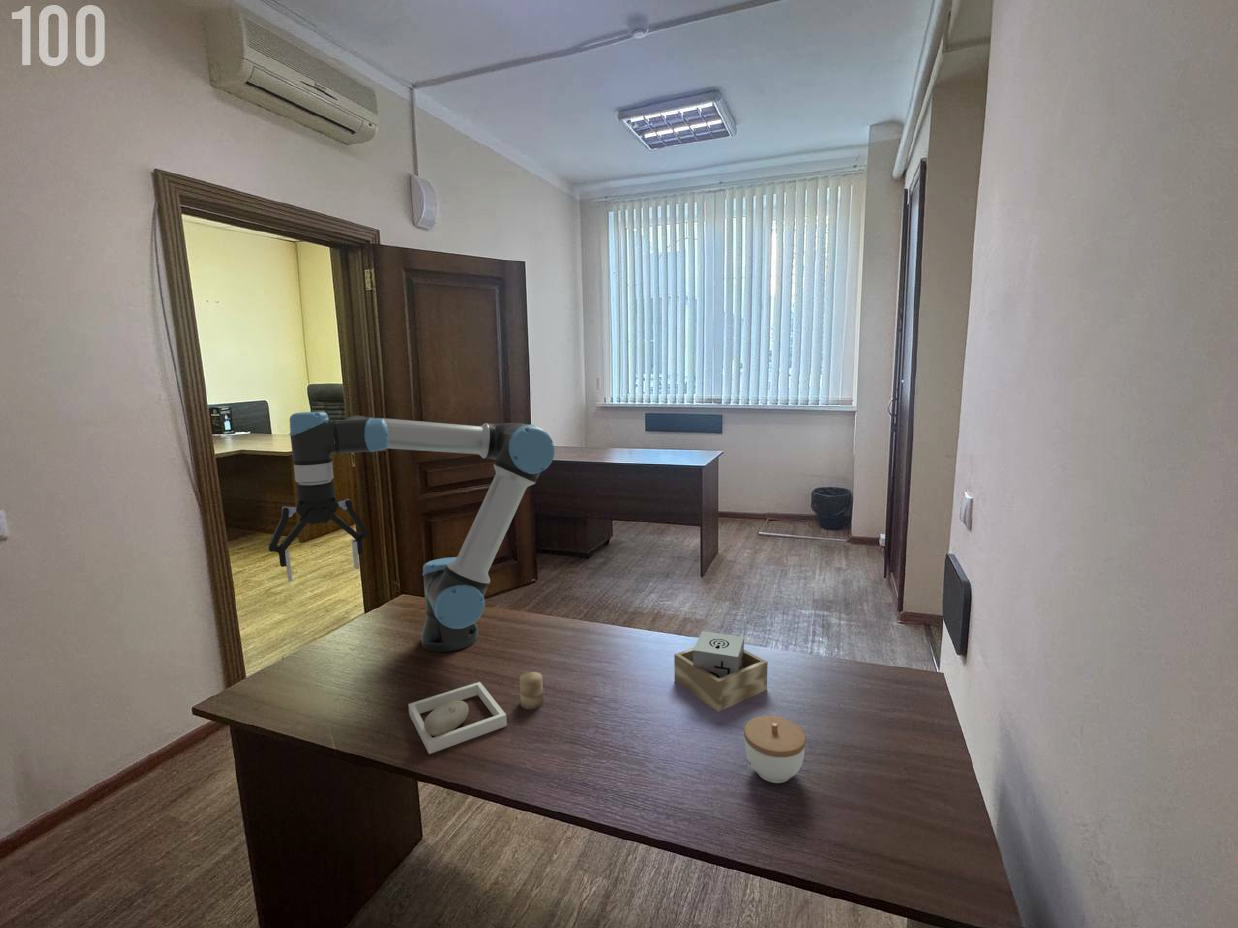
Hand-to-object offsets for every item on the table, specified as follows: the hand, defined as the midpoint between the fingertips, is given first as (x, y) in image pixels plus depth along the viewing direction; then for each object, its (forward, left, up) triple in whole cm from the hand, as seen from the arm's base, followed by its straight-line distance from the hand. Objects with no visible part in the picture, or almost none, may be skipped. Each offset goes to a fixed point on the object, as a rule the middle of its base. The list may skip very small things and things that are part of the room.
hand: (324, 573), depth 130 cm
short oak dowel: (-36, +31, -29) cm, 56 cm away
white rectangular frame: (-20, +28, -29) cm, 45 cm away
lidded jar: (-63, +77, -29) cm, 104 cm away
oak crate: (-75, +50, -29) cm, 95 cm away
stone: (-21, +27, -28) cm, 44 cm away
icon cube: (-75, +50, -28) cm, 94 cm away
